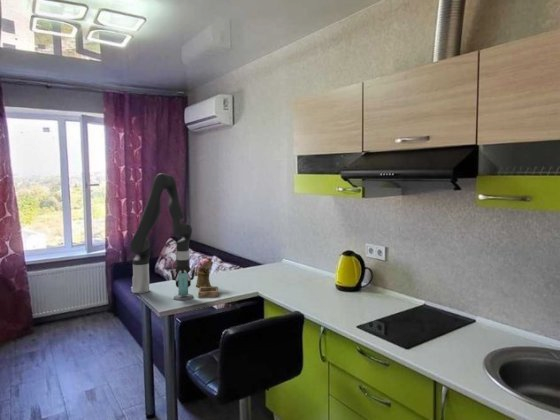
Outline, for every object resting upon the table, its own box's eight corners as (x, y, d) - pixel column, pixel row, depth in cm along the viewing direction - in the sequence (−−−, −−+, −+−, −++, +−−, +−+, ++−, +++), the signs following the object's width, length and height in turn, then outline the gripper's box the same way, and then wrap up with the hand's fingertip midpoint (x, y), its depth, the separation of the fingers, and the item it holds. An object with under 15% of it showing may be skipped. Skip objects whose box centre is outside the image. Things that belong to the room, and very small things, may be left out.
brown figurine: (204, 290, 241) (204, 261, 240) (193, 285, 251) (193, 258, 250) (216, 287, 247) (216, 259, 246) (205, 283, 257) (205, 256, 256)
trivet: (172, 300, 220) (172, 299, 220) (175, 295, 231) (175, 294, 231) (192, 300, 221) (192, 299, 221) (194, 294, 232) (194, 293, 232)
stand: (198, 297, 227) (198, 292, 226) (199, 291, 238) (199, 287, 237) (217, 296, 228) (217, 291, 228) (217, 291, 239) (217, 286, 239)
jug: (179, 293, 228) (178, 271, 227) (188, 292, 229) (188, 271, 228) (177, 297, 220) (176, 274, 219) (187, 297, 221) (187, 274, 220)
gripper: (196, 256, 229) (196, 284, 230) (171, 257, 227) (171, 285, 228) (195, 259, 221) (195, 288, 223) (169, 259, 220) (169, 289, 221)
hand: (183, 286), depth 226 cm, fingers closed on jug, 5 cm apart
